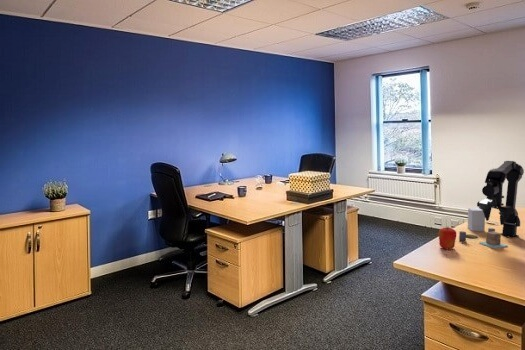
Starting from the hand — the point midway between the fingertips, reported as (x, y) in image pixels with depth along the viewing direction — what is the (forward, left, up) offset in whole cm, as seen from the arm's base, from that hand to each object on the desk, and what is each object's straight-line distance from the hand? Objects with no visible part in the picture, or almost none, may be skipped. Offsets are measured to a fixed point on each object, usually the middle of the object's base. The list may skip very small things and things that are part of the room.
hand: (494, 222), depth 198 cm
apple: (+27, -2, -12) cm, 30 cm away
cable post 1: (+10, -10, -12) cm, 19 cm away
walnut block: (+1, +1, -11) cm, 11 cm away
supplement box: (-13, -26, -12) cm, 32 cm away
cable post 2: (-9, -10, -12) cm, 18 cm away
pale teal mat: (+1, +1, -12) cm, 12 cm away
